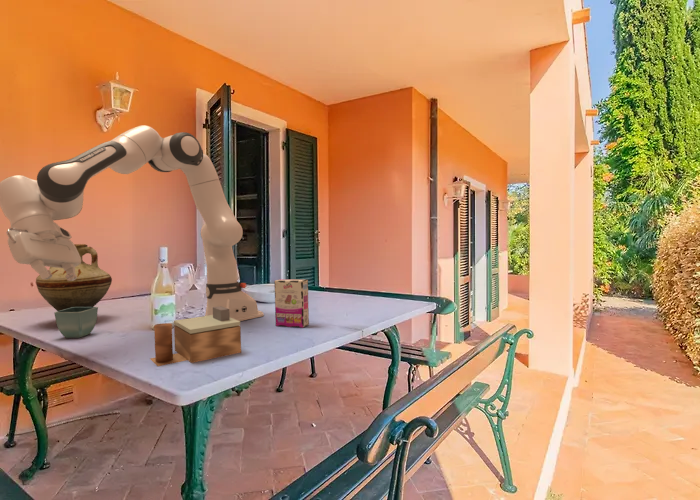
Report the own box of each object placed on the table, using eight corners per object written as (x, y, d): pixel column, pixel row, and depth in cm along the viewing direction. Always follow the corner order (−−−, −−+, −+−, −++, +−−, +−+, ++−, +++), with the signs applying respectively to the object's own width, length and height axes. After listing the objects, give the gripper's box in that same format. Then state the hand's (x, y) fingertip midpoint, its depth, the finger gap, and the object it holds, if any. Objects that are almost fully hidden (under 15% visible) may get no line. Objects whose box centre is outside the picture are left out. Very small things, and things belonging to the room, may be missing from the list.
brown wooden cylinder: (170, 356, 103) (169, 322, 102) (174, 360, 100) (173, 325, 99) (153, 359, 100) (152, 324, 100) (157, 363, 97) (156, 327, 97)
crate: (221, 345, 117) (220, 318, 116) (241, 355, 106) (240, 326, 105) (147, 359, 104) (145, 329, 104) (161, 373, 93) (159, 340, 93)
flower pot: (81, 339, 125) (80, 311, 125) (54, 340, 125) (53, 312, 125) (99, 332, 134) (98, 306, 134) (74, 333, 134) (73, 306, 134)
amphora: (31, 323, 150) (27, 245, 149) (101, 313, 168) (98, 243, 167) (47, 333, 134) (42, 245, 133) (122, 320, 152) (119, 243, 151)
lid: (220, 317, 116) (220, 303, 116) (240, 325, 105) (240, 310, 105) (174, 324, 108) (173, 309, 108) (190, 333, 97) (189, 317, 97)
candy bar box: (309, 325, 141) (308, 279, 140) (303, 328, 136) (302, 280, 135) (281, 323, 144) (280, 278, 143) (274, 326, 139) (273, 280, 139)
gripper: (16, 219, 93) (42, 270, 92) (73, 233, 113) (95, 275, 112) (-9, 232, 92) (17, 283, 91) (53, 244, 113) (74, 286, 112)
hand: (60, 279), depth 102 cm, fingers open, 8 cm apart
